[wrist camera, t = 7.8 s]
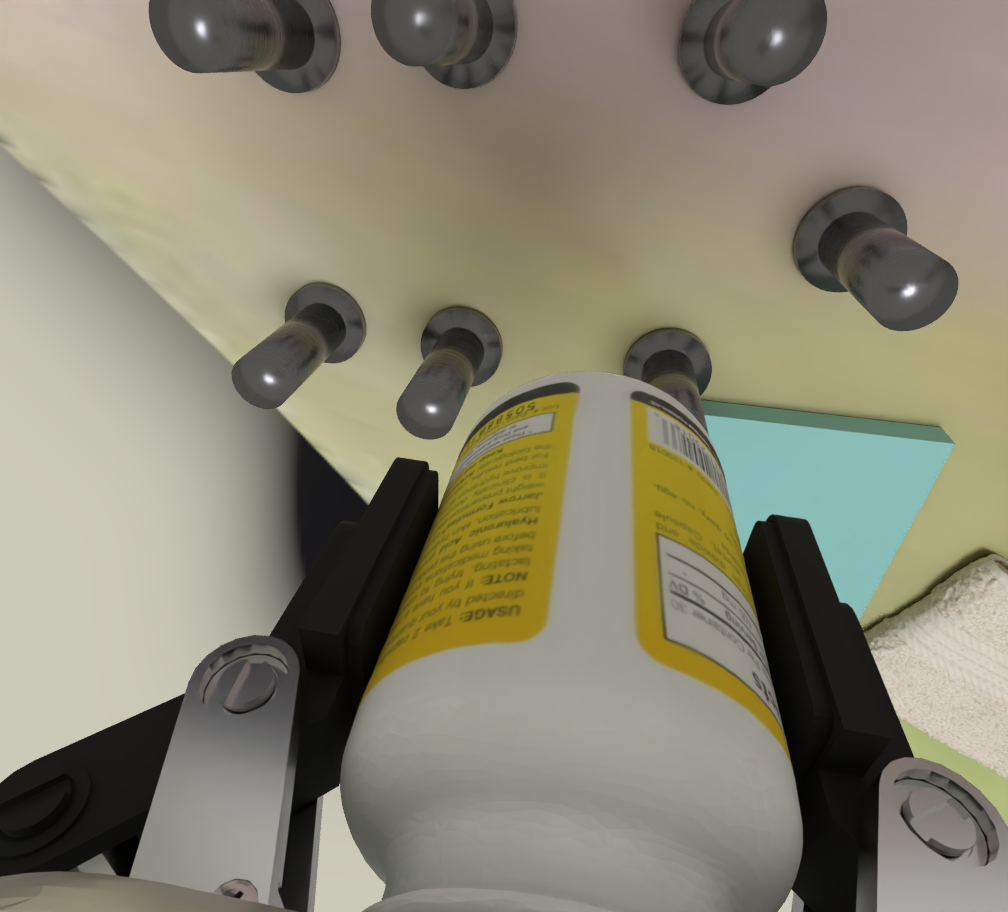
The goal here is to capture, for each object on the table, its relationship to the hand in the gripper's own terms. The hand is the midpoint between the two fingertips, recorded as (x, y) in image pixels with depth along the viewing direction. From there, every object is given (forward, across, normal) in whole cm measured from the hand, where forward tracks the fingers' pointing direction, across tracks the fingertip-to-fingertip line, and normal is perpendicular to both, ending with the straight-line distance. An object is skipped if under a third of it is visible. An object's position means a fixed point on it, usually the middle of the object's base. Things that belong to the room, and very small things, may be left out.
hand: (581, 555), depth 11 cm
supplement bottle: (+2, 0, 0) cm, 2 cm away
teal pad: (+19, -10, +13) cm, 25 cm away
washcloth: (+20, -27, +22) cm, 40 cm away
